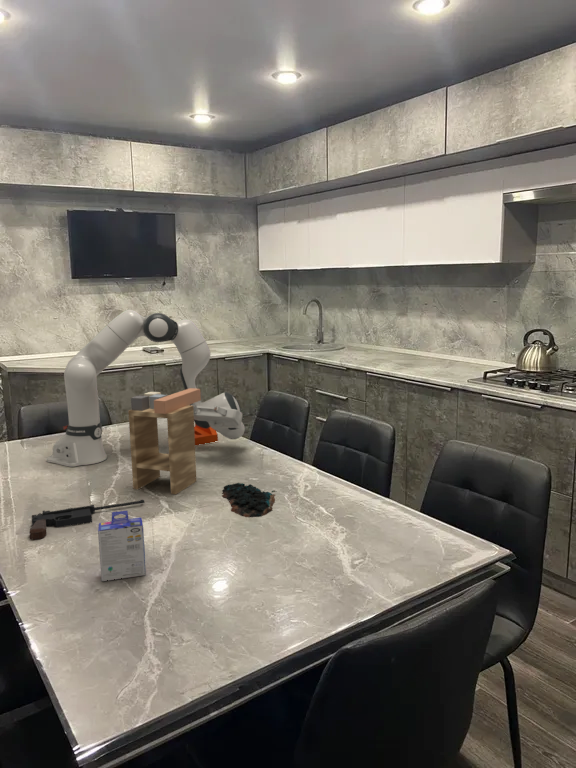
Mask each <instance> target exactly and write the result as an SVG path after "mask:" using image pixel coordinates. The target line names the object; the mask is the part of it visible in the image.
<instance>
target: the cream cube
mask: <svg viewBox="0 0 576 768" xmlns="http://www.w3.org/2000/svg"><path fill="white" fill-rule="evenodd" d="M156 394H160V395H162V392H161V391H160V392H159V391H149V392H146V393H143V396H152V395H156ZM149 406H150V401H149Z"/></svg>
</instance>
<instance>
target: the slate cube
mask: <svg viewBox="0 0 576 768" xmlns="http://www.w3.org/2000/svg"><path fill="white" fill-rule="evenodd" d="M165 396H168V395H167V394H161V395H160V394H156V395H152V396H149V401H150V409H154V400H156V399H159V398H162V397H165Z"/></svg>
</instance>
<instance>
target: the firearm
mask: <svg viewBox="0 0 576 768" xmlns="http://www.w3.org/2000/svg"><path fill="white" fill-rule="evenodd" d="M139 504H145V500H144V499H139V500H136V501H129V502H124V503H122V502H121V503H116V504H110V505H102V506H97V507H95V505H94V504H90V505H85V506H79V507H70V508H69V507H68V508H64V509H58V510H52V511H50V510H42V513H41V512H39V513H37V514H32V515H31V527H30V528H29V538H30V540H33V541H34V540H41V539H44V538H45V537H46V536H47V526H48V527H53V526H54V527H56V528H61V527H69V526H71V525H72V526H76V525H77V524H78V525H83V523H84V524H90V522H91V523H93V514H95V513H96V511H99V510H105V509H113V508H117V507H119V508H120V507H125V506H133V505H139Z"/></svg>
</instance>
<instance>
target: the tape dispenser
mask: <svg viewBox="0 0 576 768" xmlns="http://www.w3.org/2000/svg"><path fill="white" fill-rule="evenodd" d="M194 433H195V445H197V446H200V445H199V444H203V445H206V444H205V443H209V444H211V443H210V442H215V441H218V442H219V436H218V433H217V431H216V430H214V429H213V428H211V427H209V428H207V429H206V428H201V427H199V426H197V425H196V424H195V423H194ZM215 443H216V442H215Z"/></svg>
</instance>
